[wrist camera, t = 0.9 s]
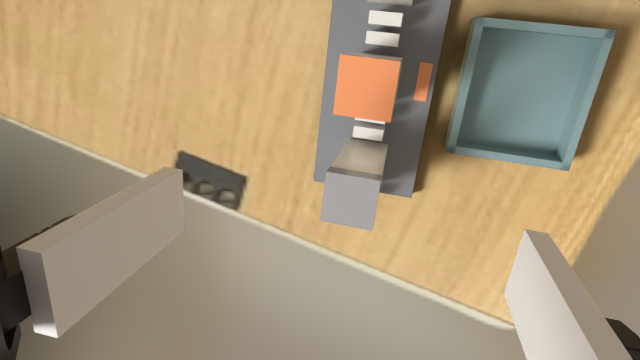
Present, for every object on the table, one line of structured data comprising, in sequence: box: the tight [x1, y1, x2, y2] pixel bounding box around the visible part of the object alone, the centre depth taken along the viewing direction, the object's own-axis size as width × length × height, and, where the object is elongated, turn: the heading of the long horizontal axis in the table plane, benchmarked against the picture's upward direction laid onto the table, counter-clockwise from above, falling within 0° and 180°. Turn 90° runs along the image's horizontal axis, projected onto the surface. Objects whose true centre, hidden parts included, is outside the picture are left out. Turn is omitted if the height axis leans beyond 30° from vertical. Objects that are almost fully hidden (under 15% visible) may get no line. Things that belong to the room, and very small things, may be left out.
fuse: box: [320, 138, 388, 231], centre depth 30 cm, size 4×4×10 cm
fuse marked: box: [333, 53, 403, 123], centre depth 28 cm, size 4×4×10 cm
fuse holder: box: [314, 0, 451, 198], centre depth 32 cm, size 21×9×4 cm, turn 174°
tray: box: [444, 17, 617, 171], centre depth 31 cm, size 10×9×2 cm
